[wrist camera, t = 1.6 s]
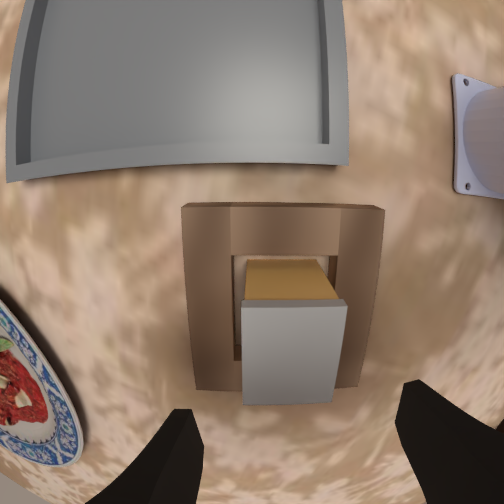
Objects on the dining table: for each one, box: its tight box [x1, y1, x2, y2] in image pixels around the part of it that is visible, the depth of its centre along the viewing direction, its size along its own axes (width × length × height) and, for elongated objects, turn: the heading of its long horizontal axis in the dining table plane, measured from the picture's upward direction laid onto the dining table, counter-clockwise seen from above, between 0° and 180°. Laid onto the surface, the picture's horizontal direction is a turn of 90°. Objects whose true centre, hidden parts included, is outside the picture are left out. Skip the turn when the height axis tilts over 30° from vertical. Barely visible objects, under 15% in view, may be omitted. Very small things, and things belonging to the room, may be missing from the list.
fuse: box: [241, 259, 348, 405], centre depth 16 cm, size 4×5×6 cm
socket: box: [181, 202, 385, 391], centre depth 18 cm, size 11×12×2 cm
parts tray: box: [6, 0, 349, 183], centre depth 13 cm, size 20×16×2 cm
